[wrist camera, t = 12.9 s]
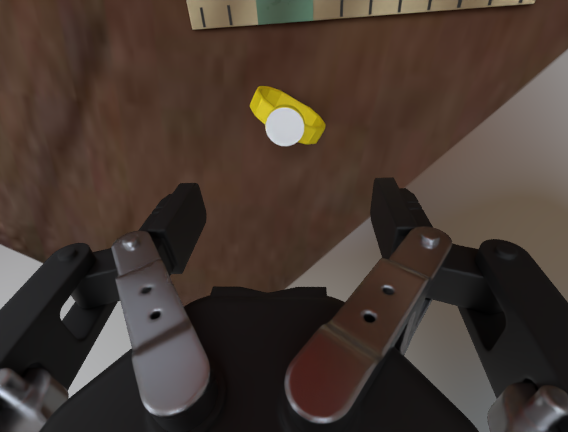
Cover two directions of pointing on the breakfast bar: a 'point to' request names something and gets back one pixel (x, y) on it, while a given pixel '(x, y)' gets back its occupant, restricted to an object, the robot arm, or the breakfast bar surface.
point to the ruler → (316, 10)
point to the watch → (286, 117)
